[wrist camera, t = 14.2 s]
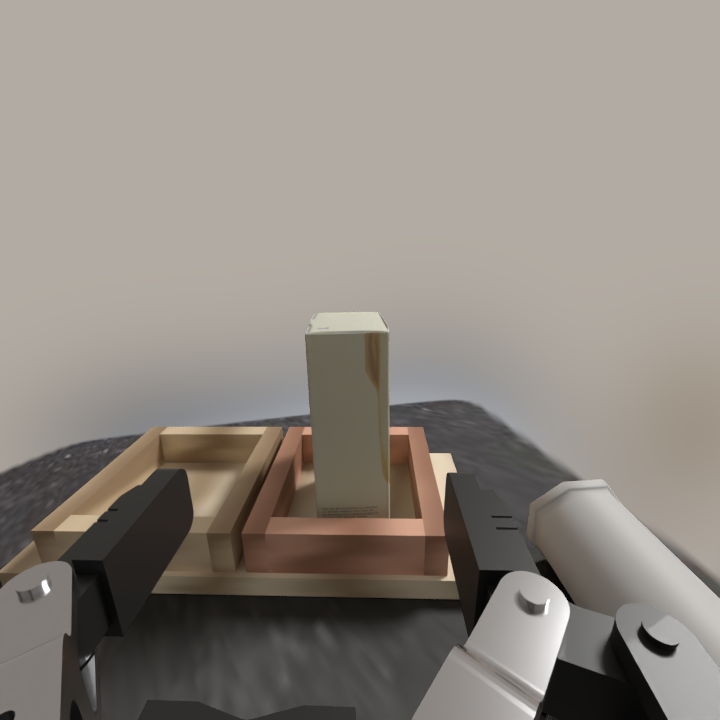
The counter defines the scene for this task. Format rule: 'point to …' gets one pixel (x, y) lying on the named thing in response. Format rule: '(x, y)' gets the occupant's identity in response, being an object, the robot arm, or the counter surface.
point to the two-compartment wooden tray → (272, 518)
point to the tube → (617, 559)
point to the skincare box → (349, 413)
